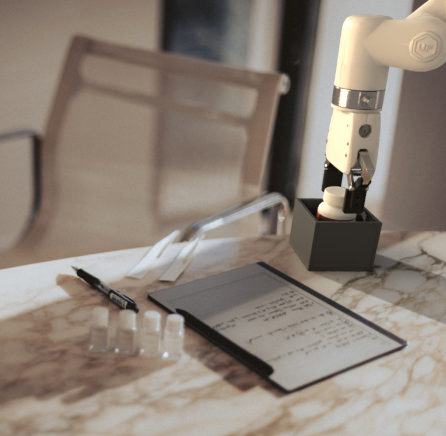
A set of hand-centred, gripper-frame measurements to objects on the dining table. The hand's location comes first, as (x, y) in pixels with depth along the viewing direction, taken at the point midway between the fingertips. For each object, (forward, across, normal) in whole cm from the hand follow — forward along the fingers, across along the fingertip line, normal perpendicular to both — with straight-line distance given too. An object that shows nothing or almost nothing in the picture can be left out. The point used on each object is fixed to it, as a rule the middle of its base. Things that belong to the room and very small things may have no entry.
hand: (341, 202), depth 103 cm
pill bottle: (+10, 0, 0) cm, 10 cm away
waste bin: (+10, 0, 0) cm, 10 cm away
